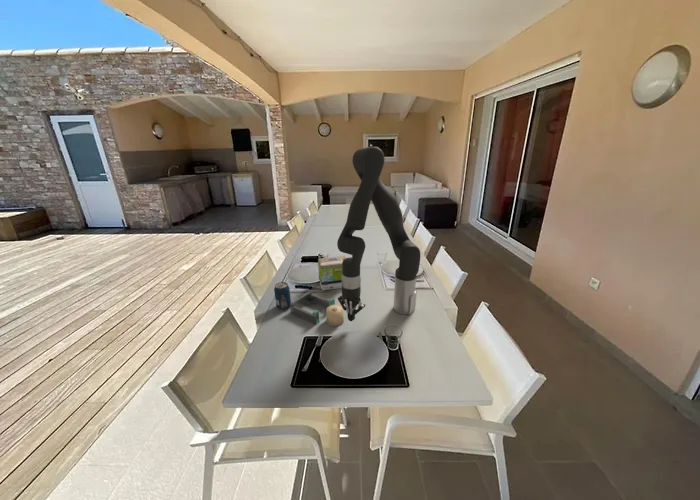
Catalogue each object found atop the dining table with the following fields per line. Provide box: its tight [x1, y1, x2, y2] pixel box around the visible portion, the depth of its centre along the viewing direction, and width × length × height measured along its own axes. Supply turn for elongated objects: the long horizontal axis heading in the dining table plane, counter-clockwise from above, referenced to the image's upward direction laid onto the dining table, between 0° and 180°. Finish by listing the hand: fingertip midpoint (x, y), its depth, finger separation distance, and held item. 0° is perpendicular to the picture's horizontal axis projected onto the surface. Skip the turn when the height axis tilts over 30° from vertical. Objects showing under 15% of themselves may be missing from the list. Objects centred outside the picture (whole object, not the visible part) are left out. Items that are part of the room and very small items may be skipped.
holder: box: [289, 291, 336, 326], centre depth 132 cm, size 16×13×6 cm
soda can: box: [273, 281, 292, 311], centre depth 134 cm, size 7×7×12 cm
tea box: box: [317, 255, 347, 292], centre depth 153 cm, size 15×10×15 cm, turn 105°
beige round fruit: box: [325, 304, 345, 327], centre depth 125 cm, size 7×7×6 cm
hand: (351, 319), depth 120 cm, fingers closed
